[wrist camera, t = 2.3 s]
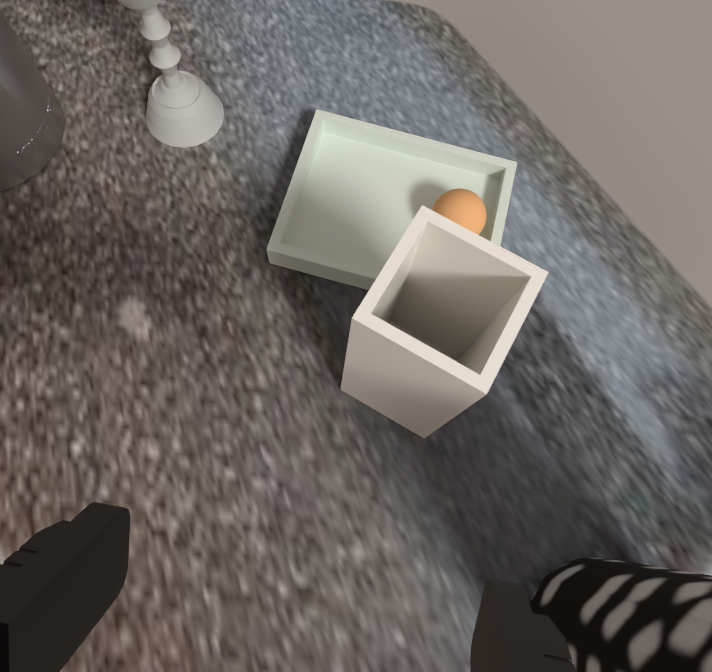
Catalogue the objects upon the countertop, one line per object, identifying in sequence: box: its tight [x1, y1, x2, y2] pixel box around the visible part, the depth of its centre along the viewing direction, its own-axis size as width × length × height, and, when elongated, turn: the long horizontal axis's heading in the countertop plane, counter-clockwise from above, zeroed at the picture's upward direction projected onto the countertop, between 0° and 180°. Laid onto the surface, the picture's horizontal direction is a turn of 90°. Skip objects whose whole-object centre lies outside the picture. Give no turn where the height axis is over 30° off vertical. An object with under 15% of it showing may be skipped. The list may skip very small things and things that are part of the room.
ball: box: [432, 188, 486, 235], centre depth 32 cm, size 3×3×3 cm
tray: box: [266, 109, 517, 290], centre depth 33 cm, size 13×10×2 cm
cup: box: [340, 205, 548, 439], centre depth 26 cm, size 5×5×12 cm
